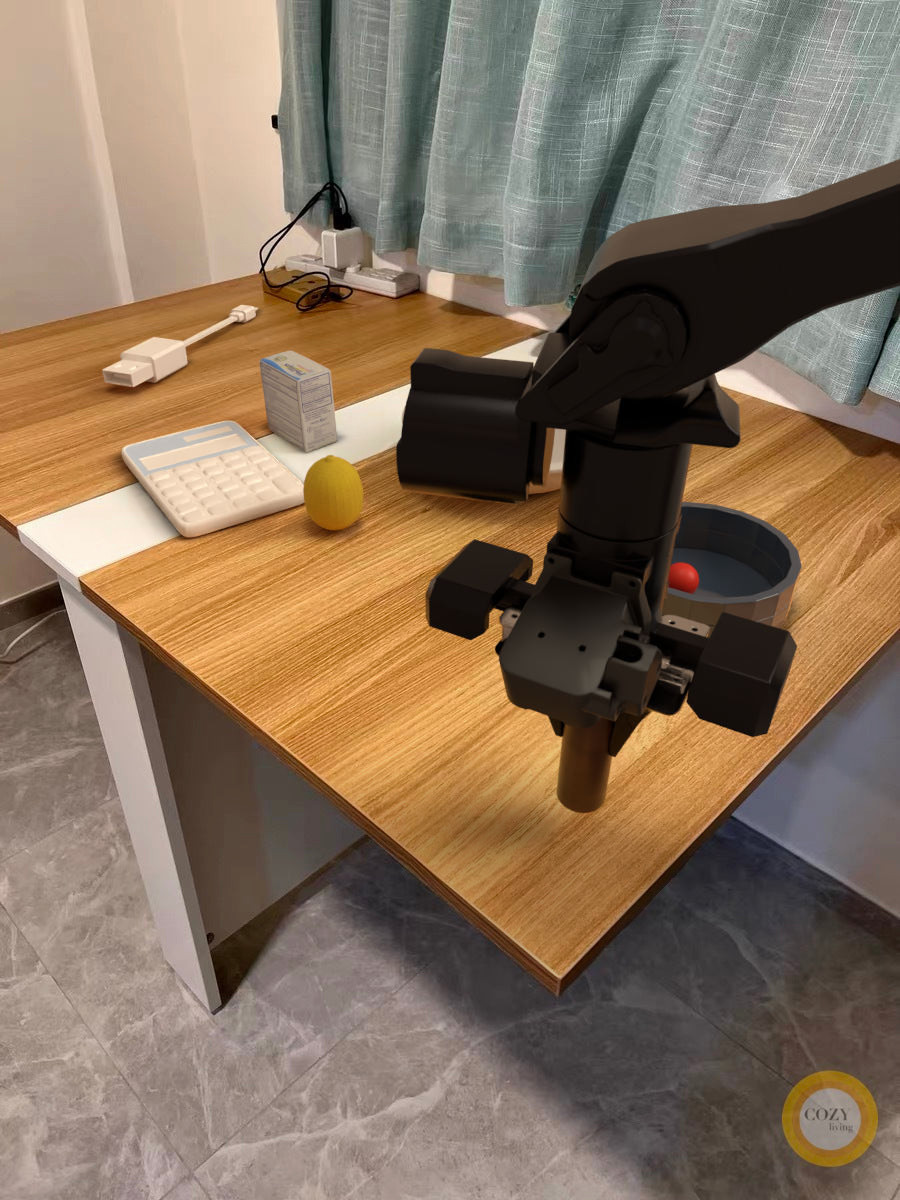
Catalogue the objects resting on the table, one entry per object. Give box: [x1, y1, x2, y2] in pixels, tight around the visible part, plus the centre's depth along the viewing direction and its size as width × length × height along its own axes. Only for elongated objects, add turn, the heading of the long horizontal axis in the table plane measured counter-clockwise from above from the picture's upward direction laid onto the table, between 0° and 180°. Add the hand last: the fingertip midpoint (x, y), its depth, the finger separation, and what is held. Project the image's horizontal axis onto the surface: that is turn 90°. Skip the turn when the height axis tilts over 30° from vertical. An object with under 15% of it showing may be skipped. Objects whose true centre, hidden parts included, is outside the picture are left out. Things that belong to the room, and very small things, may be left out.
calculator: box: [121, 419, 305, 538], centre depth 92 cm, size 13×20×2 cm, turn 34°
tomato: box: [668, 563, 699, 594], centre depth 75 cm, size 3×3×3 cm
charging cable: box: [101, 304, 259, 388], centre depth 122 cm, size 5×32×3 cm, turn 160°
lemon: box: [303, 454, 365, 532], centre depth 82 cm, size 6×6×8 cm
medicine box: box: [259, 350, 338, 453], centre depth 98 cm, size 8×4×9 cm, turn 41°
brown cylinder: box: [556, 717, 616, 814], centre depth 51 cm, size 3×3×11 cm
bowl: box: [661, 501, 803, 638], centre depth 75 cm, size 15×15×5 cm
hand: (587, 741), depth 52 cm, fingers closed on brown cylinder, 3 cm apart
